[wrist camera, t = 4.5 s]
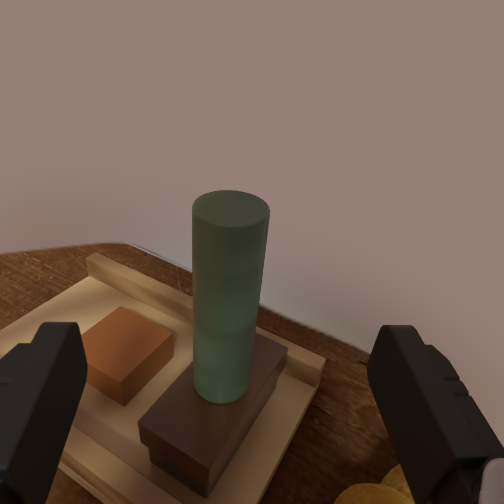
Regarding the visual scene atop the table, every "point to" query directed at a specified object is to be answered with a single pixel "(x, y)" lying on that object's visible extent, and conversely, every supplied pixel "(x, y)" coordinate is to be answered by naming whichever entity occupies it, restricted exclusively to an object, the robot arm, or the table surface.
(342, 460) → the table surface
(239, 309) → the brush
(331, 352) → the table surface
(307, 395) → the tray
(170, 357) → the brown block
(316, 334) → the table surface
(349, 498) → the bread roll
